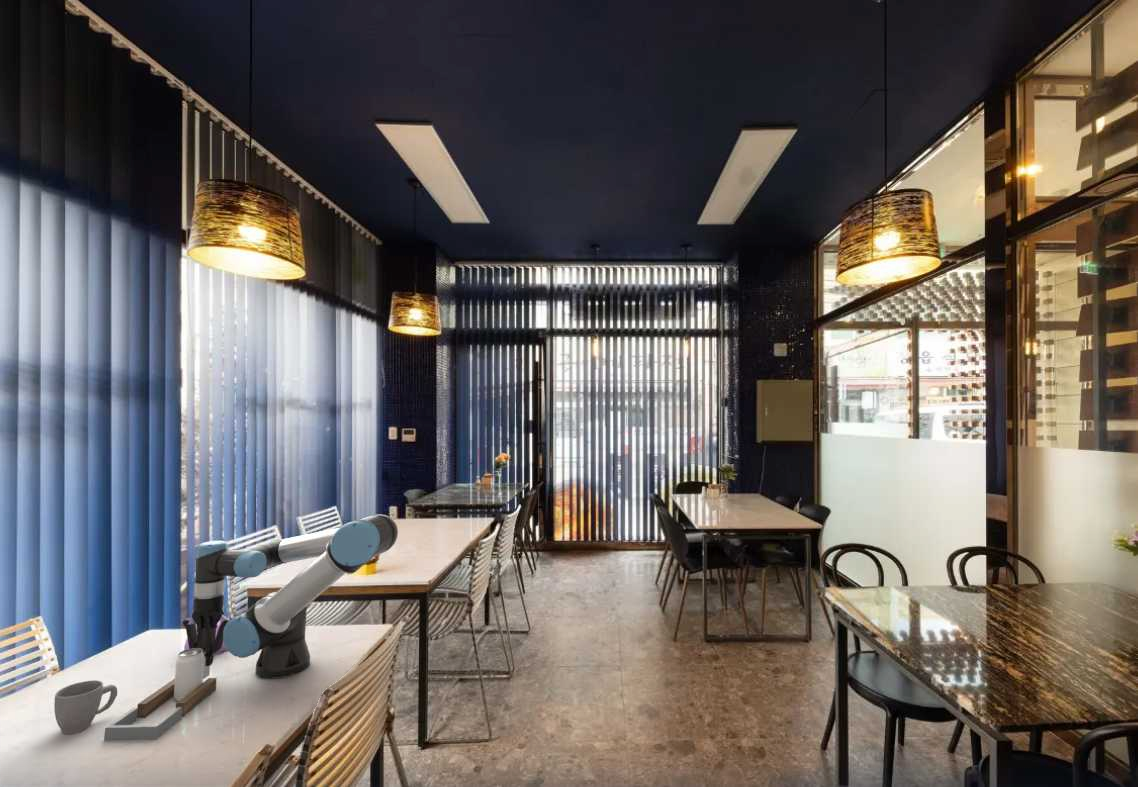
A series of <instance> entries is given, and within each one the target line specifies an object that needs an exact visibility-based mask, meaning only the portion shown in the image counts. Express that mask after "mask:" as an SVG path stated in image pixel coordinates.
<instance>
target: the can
mask: <svg viewBox="0 0 1138 787" xmlns="http://www.w3.org/2000/svg"><path fill="white" fill-rule="evenodd" d="M202 651H203V649H201V648H192V649H187V650H184V649H183V650H182V651H181V652H179V653H178V656H177V658H176V660H175V668H174V670H175V671H174V673H175V674H174V679H175V684H174V697H173V699H174V701H176V702H178V701H180V700H181V699H182V698H183V697H185V696H186V695H187V694H189V693H190V692H191V691H193V690H194V689H195V688H197V687H198V686H199V685H201V684H202V683H203V682H204V679H203V669H204V653H203V652H202Z"/></svg>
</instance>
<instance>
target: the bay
mask: <svg viewBox="0 0 1138 787" xmlns="http://www.w3.org/2000/svg"><path fill="white" fill-rule="evenodd" d="M137 710H138V708H137V707H133V708H132V709H130V710H129V711H127V712H126V713H124V714H123V715H122V716H120V717H118V718H117V719H116V720H114V721H113V722H111V723H110V724H108V725H107V726H105V727H104V736H103V742H110V741H111V742H112V741H150V740H151V741H152V740H153V741H154V740H158V739H159V738H160V737H162V736H163V735H165V733H167V731H170V729H171V728H172V727H174V726H175V725H176V724H177V723H178V722H180V721H181V720H182V719H183V717H182V707H178V708H176V707H175V709H174V710H172V711H171V712H170V713H168V714H167V715H166V716H165V717H164V718H162V719H160V720H159V721H158V722H157V723H154V724H153V723H151V724H134V723H135V722H136V721H137V720H138V718H137Z"/></svg>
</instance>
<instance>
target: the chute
mask: <svg viewBox="0 0 1138 787" xmlns="http://www.w3.org/2000/svg"><path fill="white" fill-rule="evenodd" d="M174 684H175V678H173V679H172V680H170V681H169V682H167V683H166V684H165V685H163V686H161V688H158V689H157V690H155V691H154V692H153V693H151V694H150V695H148V697H146V698H144V699H143V700H141V701H140V702H138V703H137V707H136V708H138V710H137V719H144V718H147V717H148V716H150V715H151V714H152V713H154V712H155V711H156V710H158V709H159V708H161V707H162V706H163V705H164V704H166V703H167V702H168V701H170V700H171V699H174ZM216 691H217V677H208V678H207V679H206V680H205V681H203V683H202V684H201V685H199V686H198V687H197V688H195V689H194V690H193V691H191V692H190V693H189V694H187V695H186V696H185V697H183V698H182V699H181V700H180V701H176V703H175V709H176V708H178V707H182V718H184V717H185V716H186V715H187V714H189V713H190V712H191V711H193V709H195V708H196V707H197V706H199V705H200V704H202V702H203V701H205V700H206V699H207V698H208V697H210V696H211V695H212V694H213V693H215V692H216Z"/></svg>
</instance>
